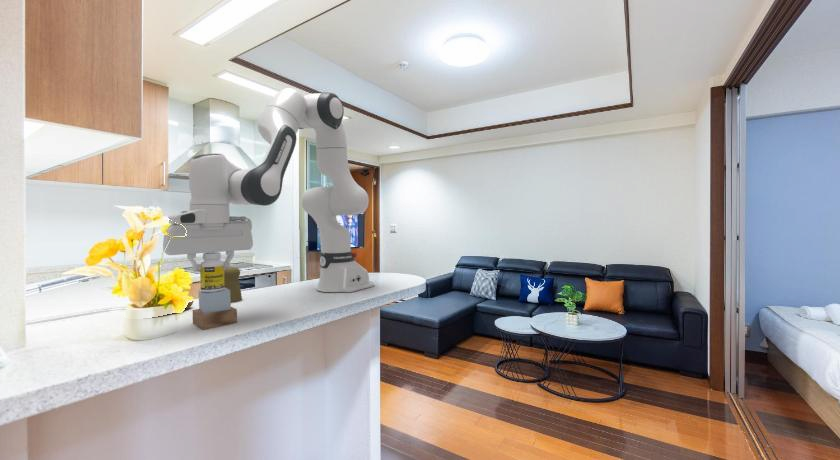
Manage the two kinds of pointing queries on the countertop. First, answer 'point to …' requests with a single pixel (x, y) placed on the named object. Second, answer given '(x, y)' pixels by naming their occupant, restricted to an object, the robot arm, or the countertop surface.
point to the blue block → (214, 301)
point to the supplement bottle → (212, 273)
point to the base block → (214, 318)
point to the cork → (233, 283)
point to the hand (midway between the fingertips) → (211, 269)
